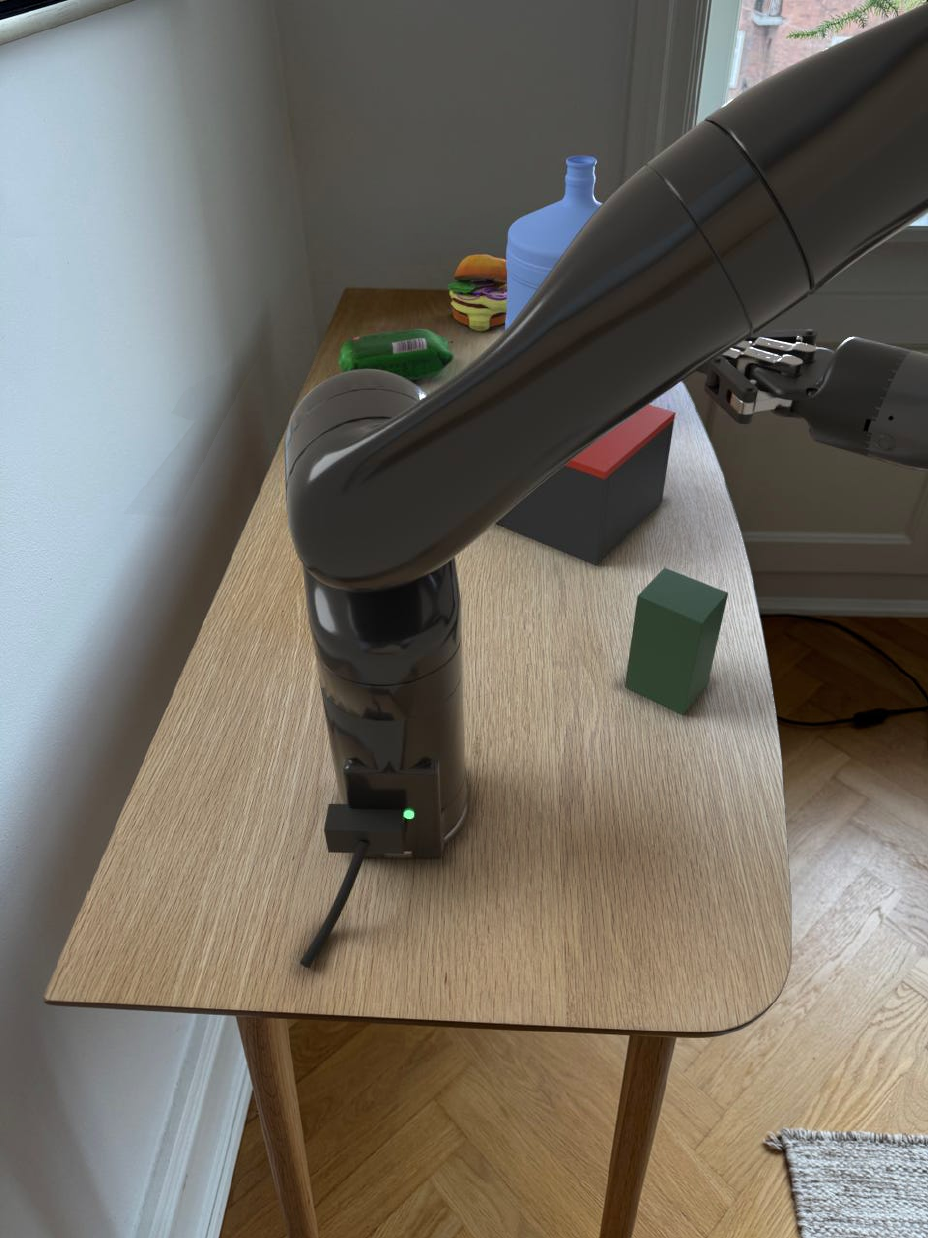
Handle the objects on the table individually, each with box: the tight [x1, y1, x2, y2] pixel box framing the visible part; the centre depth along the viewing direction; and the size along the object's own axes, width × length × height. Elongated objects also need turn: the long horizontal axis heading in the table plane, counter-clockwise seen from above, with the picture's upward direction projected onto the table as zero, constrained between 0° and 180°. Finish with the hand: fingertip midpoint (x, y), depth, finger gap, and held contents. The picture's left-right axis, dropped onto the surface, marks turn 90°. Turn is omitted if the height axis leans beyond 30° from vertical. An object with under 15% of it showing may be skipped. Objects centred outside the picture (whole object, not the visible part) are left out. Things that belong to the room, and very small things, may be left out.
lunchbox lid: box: [565, 403, 676, 480], centre depth 91 cm, size 18×14×1 cm
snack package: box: [337, 328, 455, 382], centre depth 119 cm, size 7×16×5 cm, turn 105°
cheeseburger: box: [446, 254, 507, 332], centre depth 132 cm, size 10×11×10 cm
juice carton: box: [624, 567, 729, 716], centre depth 74 cm, size 4×6×10 cm
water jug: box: [504, 155, 603, 332], centre depth 106 cm, size 16×16×28 cm
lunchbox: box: [494, 419, 675, 566], centre depth 94 cm, size 18×14×10 cm
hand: (669, 345), depth 71 cm, fingers closed
